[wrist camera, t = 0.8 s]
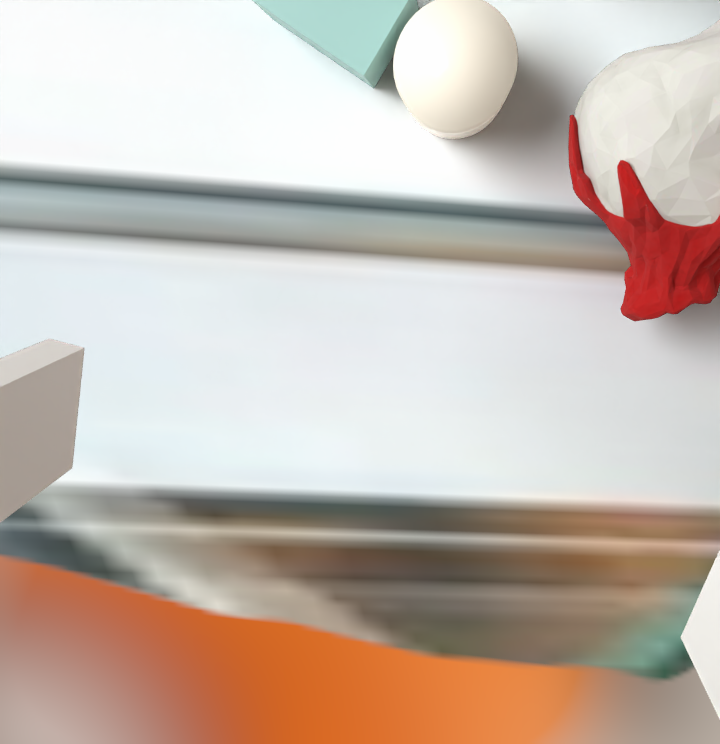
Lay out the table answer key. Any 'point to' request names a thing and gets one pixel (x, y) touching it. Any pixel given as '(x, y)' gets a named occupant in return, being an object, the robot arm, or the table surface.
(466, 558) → the table surface
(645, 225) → the white two-tone toothed figurine
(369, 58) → the teal block
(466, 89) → the cream capsule cylinder
